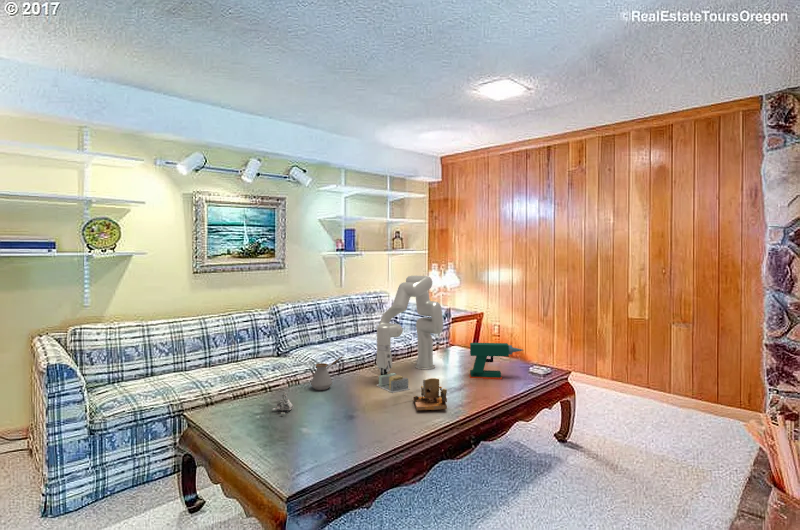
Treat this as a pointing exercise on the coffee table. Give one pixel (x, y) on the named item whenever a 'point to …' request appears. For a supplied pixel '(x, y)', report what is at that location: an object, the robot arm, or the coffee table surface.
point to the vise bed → (386, 387)
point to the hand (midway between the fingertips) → (383, 380)
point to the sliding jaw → (385, 379)
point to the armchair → (431, 396)
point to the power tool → (481, 357)
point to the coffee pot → (322, 376)
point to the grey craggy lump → (284, 404)
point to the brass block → (394, 379)
